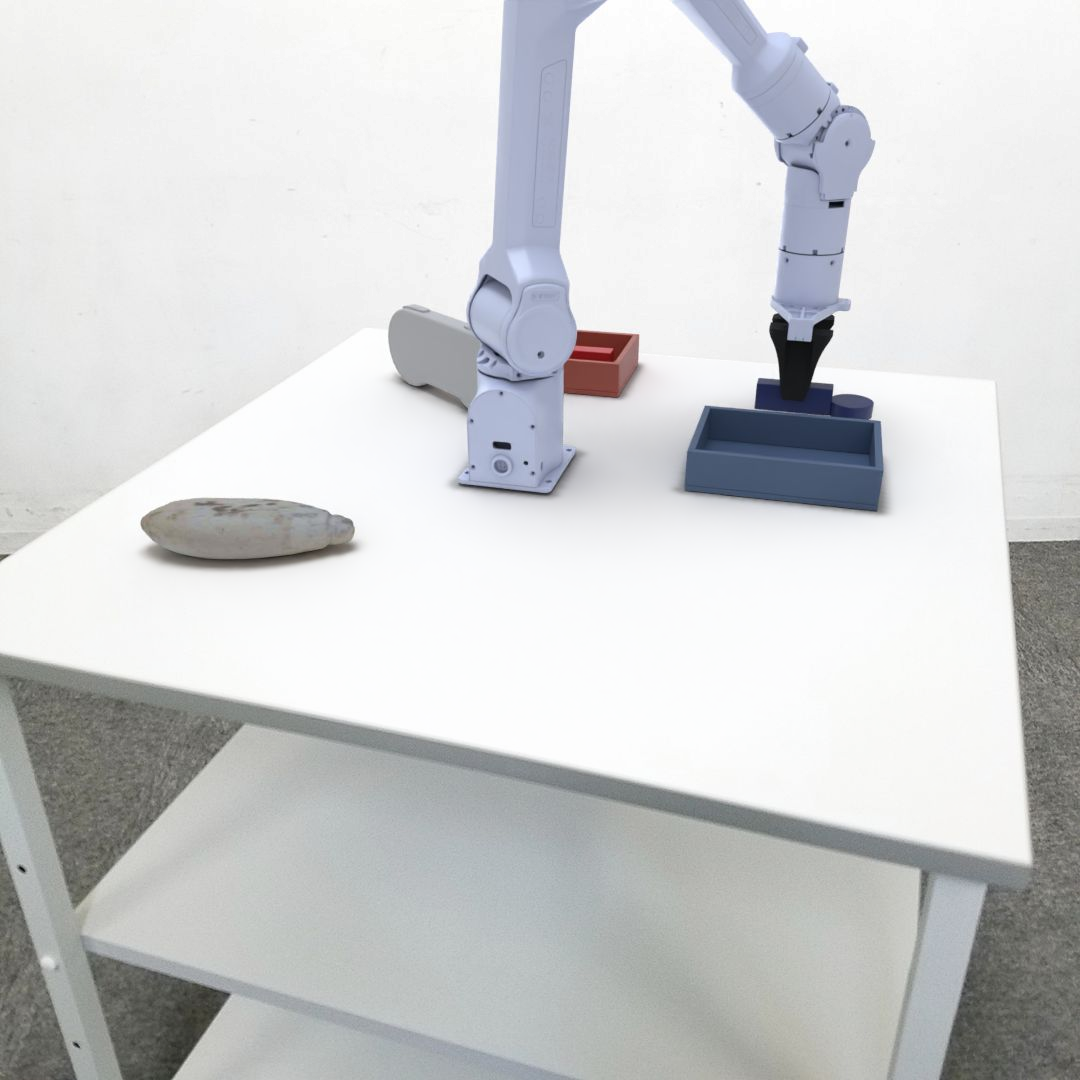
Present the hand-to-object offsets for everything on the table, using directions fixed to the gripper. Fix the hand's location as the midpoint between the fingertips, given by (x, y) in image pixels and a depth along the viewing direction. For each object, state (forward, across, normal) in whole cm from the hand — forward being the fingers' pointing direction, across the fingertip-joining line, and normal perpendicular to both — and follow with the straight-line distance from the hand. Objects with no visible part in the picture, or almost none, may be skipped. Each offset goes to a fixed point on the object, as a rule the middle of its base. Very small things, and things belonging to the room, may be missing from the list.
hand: (793, 395), depth 98 cm
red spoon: (+2, +8, +25) cm, 26 cm away
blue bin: (+3, -13, 0) cm, 13 cm away
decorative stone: (+3, -37, +37) cm, 52 cm away
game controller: (+3, -2, +34) cm, 34 cm away
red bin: (+3, +8, +25) cm, 26 cm away
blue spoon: (+1, 0, -2) cm, 2 cm away
